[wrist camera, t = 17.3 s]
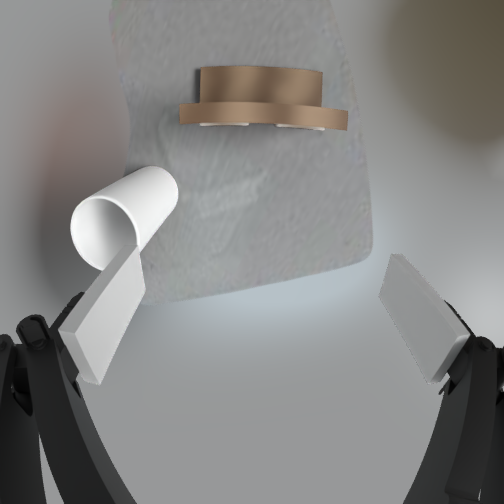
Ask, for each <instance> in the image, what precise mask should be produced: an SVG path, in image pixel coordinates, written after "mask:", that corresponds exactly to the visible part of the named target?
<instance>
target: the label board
mask: <svg viewBox="0 0 504 504" xmlns="http://www.w3.org/2000/svg"><path fill="white" fill-rule="evenodd" d="M321 102H322V72H318V71H310V70H301V69H291V68H278V67H258V66H218V67H201V77H200V103H189V104H180V109H179V124H192V123H200V126H243V125H249V123H270V124H274V126H277V127H286V128H300V129H311V130H313V129H315V130H324V129H325V128H331V129H339V130H346V131H347V122H348V111H344V110H338V109H330V108H322V107H321Z"/></svg>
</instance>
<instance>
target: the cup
mask: <svg viewBox="0 0 504 504" xmlns="http://www.w3.org/2000/svg"><path fill="white" fill-rule="evenodd" d="M177 200H178V188H177V184H176V182H175V180H174V178H173V177H172V176H171V175H170V174H169V173H168V172H167V171H166V170H164V169H162V168H160V167H156V166H147V167H144V168H141V169H139V170H137V171H135V172H133V173H131V174H129V175H127V176H125V177H123V178H122V179H120V180H118V181H116V182H114V183H112V184H110V185H109V186H107V187H105V188H103V189H101V190H100V191H98V192H96V193H95V194H93V195H91V196H89V197H88V198H86V199H85V200H83V201H82V202H81V203H80V204H79V205H78V206H77V207H76V209H75V210H74V212H73V215H72V218H71V226H70V227H71V236H72V239H73V242H74V245H75V247H76V249H77V251H78V252H79V254H80V255H81V256H82V258H83V259H84V260H85V261H86V262H88V263H89V264H90V265H91V266H93V267H95V268H97V269H99V270H102V271H103V270H104V269H105V268H106V266H107V265H108V264H109V263H110V262H111V260H112V259H113V258H114V257H115V256H116V255H117V253H118V252H119V251H120V250H121V249H122V248H123V246H124V245H138V247H139V253H140V252H141V250H142V249H143V248H144V246H145V245H146V244H147V242H148V241H149V240H150V238H151V237H152V236H153V235H154V233H155V232H156V231H157V229H158V228H159V227H160V225H161V224H162V223H163V222H164V220H165V219H166V218H167V217H168V215H169V214H170V213H171V212H172V210H173V209H174V208H175V206H176V203H177Z"/></svg>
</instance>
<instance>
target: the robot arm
mask: <svg viewBox="0 0 504 504" xmlns="http://www.w3.org/2000/svg"><path fill="white" fill-rule="evenodd" d="M145 291H146V289H145V284H144V278H143V273H142V267H141V260H140V254H139V247H138V245H124V246H123V248H122V249H121V250H120V251H119V252H118V253H117V255H116V256H115V257H114V258H113V259H112V260H111V262H110V263H109V264H108V265H107V266H106V268H105V269H104V270H103V271H102V273H101V274H100V275H99V276H98V278H97V279H96V280H95V281H94V282H93V284H92V285H91V286H90V287H89V289H88V290H87V291H86V292H80V293H79V294H78V295H76V296H75V297H73V298H72V299H71V301H70V302H69V303H68V304H67V307H65V308H64V310H63V311H62V313H60V315H59V316H58V317H57V319H56V320H55V321H54V323H53V324H52V326H51V327H50V328H48V325H47V324H46V321H45V319H44V317H43V316H41V315H36V314H35V315H30V316H28V317H26V318H24V319H23V320H22V321H20V323H19V324H18V325H17V328H16V332H17V334H18V336H19V338H20V340H21V342H22V344H14V342H13V340H12V339H11V337H10V336H9V335H7V334H2V335H0V504H47V503H46V497H45V492H44V485H43V479H42V471H41V461H40V448H39V434H40V438H41V441H42V445H43V448H44V452H45V455H46V458H47V461H48V464H49V467H50V470H51V472H52V475H53V477H54V480H55V483H56V485H57V487H58V490H59V493H60V495H61V497H62V499H63V502H64V504H137V503H136V502H135V500H134V499H133V497H132V496H131V494H130V492H129V491H128V489H127V488H126V486H125V484H124V483H123V481H122V479H121V477H120V476H119V474H118V472H117V470H116V469H115V467H114V465H113V463H112V461H111V459H110V457H109V455H108V453H107V451H106V449H105V447H104V445H103V443H102V441H101V439H100V437H99V435H98V433H97V430H96V428H95V426H94V423H93V421H92V419H91V416H90V414H89V411H88V409H87V406H86V404H85V401H84V398H83V395H82V393H81V390H80V387H79V384H78V382H77V381H76V377H77V375H78V373H80V375H81V376H82V378H83V380H84V381H85V382H89V383H93V384H97V385H100V384H101V382H102V379H103V377H104V375H105V373H106V370H107V368H108V366H109V364H110V361H111V360H112V357H113V355H114V353H115V351H116V349H117V346H118V345H119V342H120V340H121V338H122V336H123V334H124V332H125V330H126V328H127V326H128V324H129V322H130V320H131V318H132V316H133V314H134V312H135V310H136V308H137V306H138V304H139V303H140V301H141V299H142V297H143V295H144V293H145ZM379 298H380V300H381V301H382V303H383V305H384V306H385V308H386V310H387V311H388V313H389V315H390V316H391V318H392V320H393V321H394V323H395V325H396V327H397V328H398V330H399V332H400V333H401V335H402V337H403V339H404V340H405V342H406V344H407V346H408V348H409V350H410V351H411V353H412V355H413V357H414V359H415V361H416V363H417V365H418V366H419V368H420V370H421V372H422V374H423V376H424V378H425V380H426V382H427V384H428V385H429V384H433V383H436V382H440V381H441V380H442V379H443V377H444V376H445V374H446V373H447V372H448V374H449V376H450V378H449V380H448V381H447V382H446V384H445V385H444V386H443V388H442V389H441V390H440V392H439V395H440V394H441V393H442V392H443V391H444V395H443V400H442V403H441V407H440V411H439V414H438V418H437V421H436V424H435V428H434V431H433V434H432V437H431V439H430V443H429V445H428V448H427V451H426V453H425V456H424V459H423V461H422V463H421V466H420V468H419V471H418V473H417V475H416V477H415V480H414V482H413V484H412V486H411V488H410V491H409V492H408V494H407V496H406V498H405V500H404V503H403V504H504V392H503V388H502V387H503V386H504V347H503V348H496V347H495V345H494V344H493V343H492V342H491V341H490V340H489V339H487V338H485V337H482V336H480V337H476V336H475V335H474V333H473V332H472V331H471V329H470V328H469V327H468V325H467V324H466V323H465V322H464V320H462V319H461V317H460V316H459V314H457V312H456V311H455V309H454V308H453V307H452V306H451V305H450V304H449V303H447V302H446V301H445V300H443V299H442V298H441V297H440V295H439V294H438V293H437V292H436V291H435V290H434V288H433V287H432V286H431V285H430V284H429V283H428V282H427V280H426V279H425V278H424V277H423V276H422V275H421V274H420V273H419V271H418V270H416V268H415V267H414V266H413V265H412V264H411V263H410V262H409V261H408V260H407V259H406V257H405V256H403V255H402V254H391V257H390V260H389V264H388V267H387V271H386V275H385V278H384V282H383V284H382V288H381V291H380V294H379ZM11 386H12V388H11ZM480 489H481V493H480ZM479 493H480V501H479V499H478V497H479Z"/></svg>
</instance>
